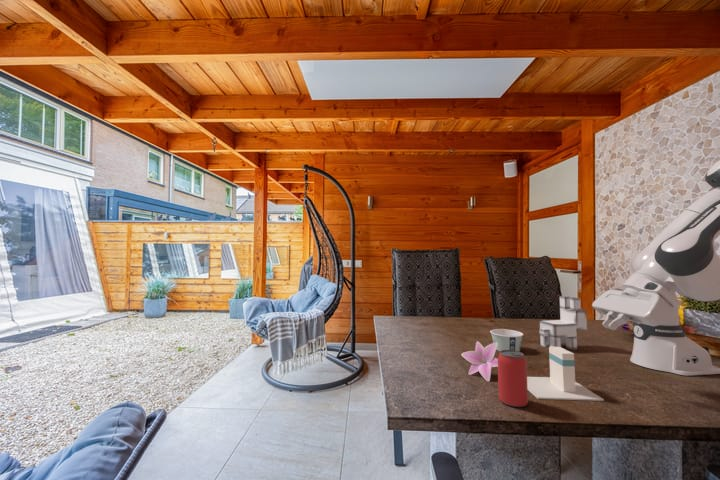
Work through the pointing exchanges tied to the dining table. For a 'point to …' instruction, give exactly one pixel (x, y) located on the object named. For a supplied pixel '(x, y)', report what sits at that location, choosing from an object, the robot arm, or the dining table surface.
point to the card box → (562, 369)
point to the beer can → (512, 378)
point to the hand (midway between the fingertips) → (607, 327)
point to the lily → (482, 359)
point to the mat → (558, 390)
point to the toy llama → (564, 325)
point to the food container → (507, 339)
